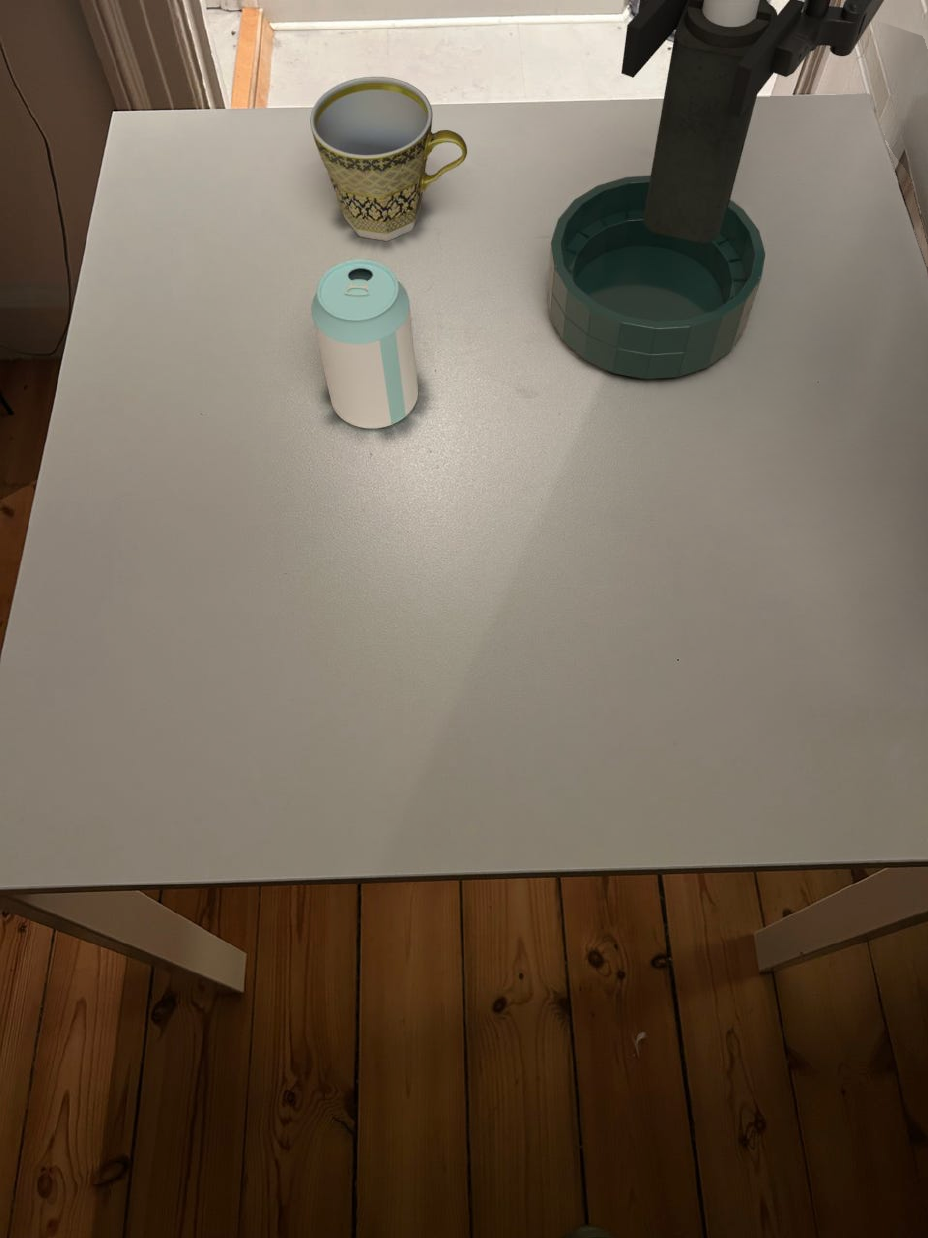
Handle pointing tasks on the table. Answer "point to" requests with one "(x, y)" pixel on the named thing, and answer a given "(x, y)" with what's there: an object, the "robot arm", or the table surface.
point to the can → (366, 343)
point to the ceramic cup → (378, 152)
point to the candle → (702, 118)
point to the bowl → (649, 285)
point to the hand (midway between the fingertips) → (684, 70)
